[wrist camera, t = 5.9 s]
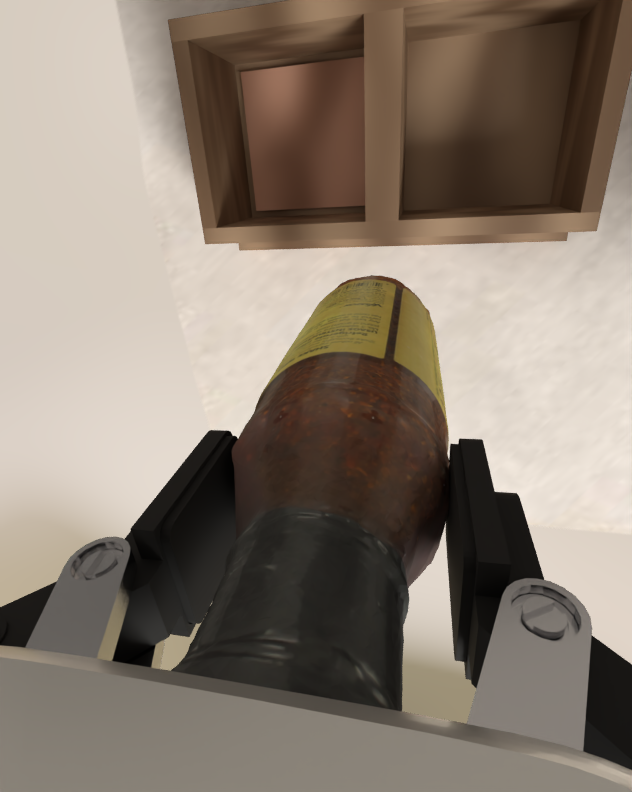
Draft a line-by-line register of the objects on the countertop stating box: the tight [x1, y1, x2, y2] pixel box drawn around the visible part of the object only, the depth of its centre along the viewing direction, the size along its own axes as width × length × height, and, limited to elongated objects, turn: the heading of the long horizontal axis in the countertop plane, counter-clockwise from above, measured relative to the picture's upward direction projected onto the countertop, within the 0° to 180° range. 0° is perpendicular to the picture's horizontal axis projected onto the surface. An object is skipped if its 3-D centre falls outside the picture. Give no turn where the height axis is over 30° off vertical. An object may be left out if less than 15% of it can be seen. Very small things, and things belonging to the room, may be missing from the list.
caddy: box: [168, 0, 632, 250], centre depth 28 cm, size 25×15×8 cm, turn 94°
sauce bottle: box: [171, 275, 450, 711], centre depth 14 cm, size 6×6×20 cm
